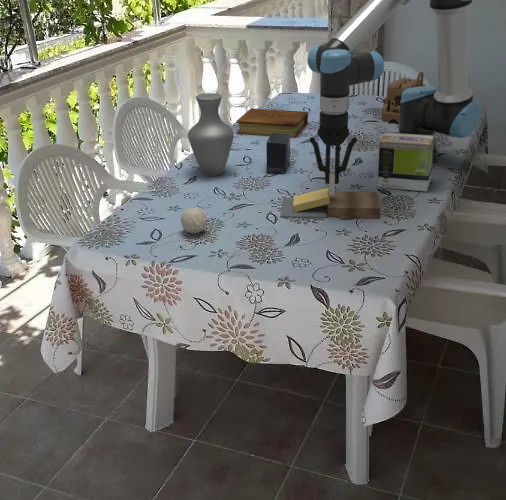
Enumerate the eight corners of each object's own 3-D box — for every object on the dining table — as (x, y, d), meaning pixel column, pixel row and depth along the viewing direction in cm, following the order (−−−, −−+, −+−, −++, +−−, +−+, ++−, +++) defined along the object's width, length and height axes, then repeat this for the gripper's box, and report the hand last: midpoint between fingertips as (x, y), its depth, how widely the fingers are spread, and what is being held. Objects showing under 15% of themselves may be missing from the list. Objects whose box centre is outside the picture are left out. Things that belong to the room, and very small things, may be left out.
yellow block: (329, 194, 196) (328, 187, 195) (330, 203, 190) (328, 197, 189) (296, 202, 198) (294, 196, 198) (295, 212, 192) (293, 205, 191)
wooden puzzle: (399, 109, 287) (402, 63, 279) (432, 113, 279) (437, 67, 271) (376, 122, 271) (379, 74, 262) (411, 127, 263) (415, 78, 255)
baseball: (187, 240, 179) (185, 216, 176) (178, 229, 185) (176, 206, 182) (211, 235, 181) (210, 211, 178) (202, 224, 187) (201, 202, 184)
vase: (218, 183, 214) (214, 104, 203) (181, 176, 221) (175, 98, 210) (243, 169, 225) (241, 93, 214) (207, 162, 232) (203, 88, 221)
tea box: (430, 181, 212) (435, 134, 205) (427, 193, 204) (431, 144, 197) (381, 176, 217) (384, 130, 210) (376, 188, 208) (379, 140, 202)
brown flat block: (376, 201, 199) (377, 191, 197) (379, 218, 188) (380, 208, 187) (327, 200, 200) (328, 191, 199) (327, 217, 189) (328, 207, 188)
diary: (307, 125, 270) (308, 111, 268) (296, 139, 254) (296, 124, 252) (251, 121, 276) (251, 107, 274) (236, 135, 260) (236, 120, 258)
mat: (326, 200, 200) (326, 198, 200) (326, 218, 189) (326, 217, 189) (283, 199, 202) (283, 198, 201) (280, 217, 190) (280, 216, 190)
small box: (285, 174, 220) (285, 142, 216) (265, 173, 222) (265, 142, 217) (291, 163, 230) (291, 132, 225) (271, 162, 231) (271, 132, 226)
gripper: (308, 114, 179) (307, 199, 190) (359, 114, 178) (355, 199, 188) (309, 107, 186) (308, 189, 196) (358, 107, 185) (354, 189, 195)
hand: (331, 194), depth 192 cm, fingers closed
